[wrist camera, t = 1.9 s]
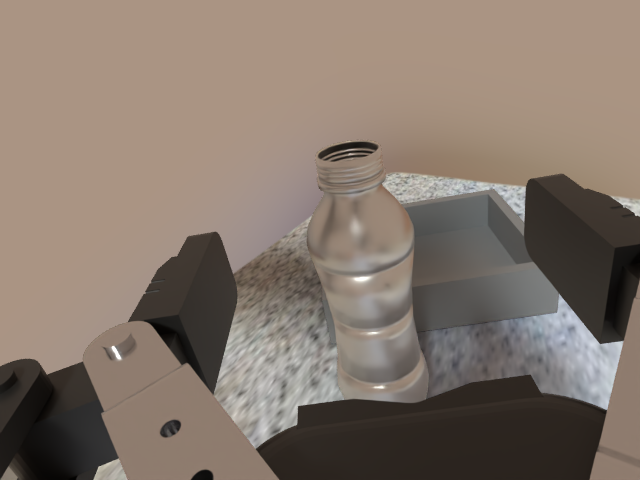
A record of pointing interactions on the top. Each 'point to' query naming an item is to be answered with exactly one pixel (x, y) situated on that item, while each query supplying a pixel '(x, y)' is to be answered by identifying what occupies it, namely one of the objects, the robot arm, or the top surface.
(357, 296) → the silver bottle
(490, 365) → the top surface
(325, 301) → the bin
